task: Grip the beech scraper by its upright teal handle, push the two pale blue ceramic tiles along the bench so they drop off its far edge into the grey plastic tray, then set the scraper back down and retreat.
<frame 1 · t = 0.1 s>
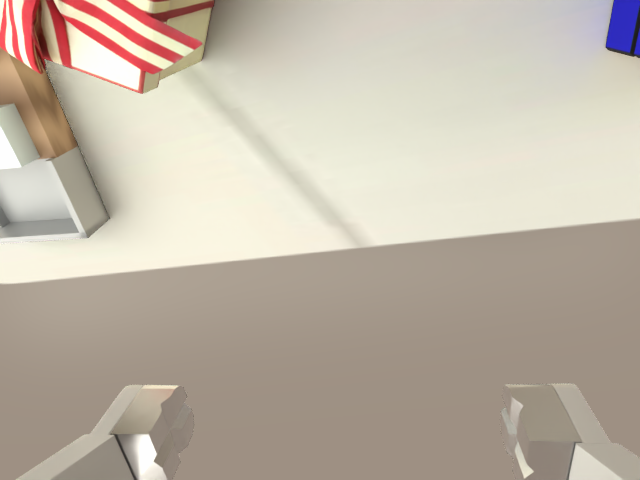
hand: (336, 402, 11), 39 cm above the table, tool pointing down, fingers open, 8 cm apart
tray: (42, 188, 54), on the table
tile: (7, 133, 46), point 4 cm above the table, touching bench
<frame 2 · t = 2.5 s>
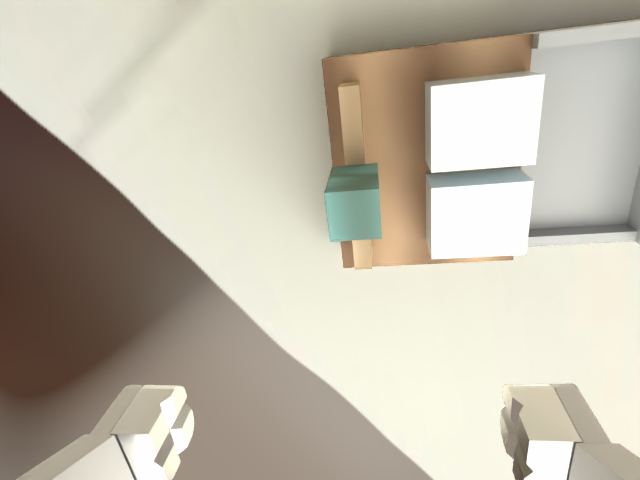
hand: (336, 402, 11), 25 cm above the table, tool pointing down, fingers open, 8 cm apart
tray: (576, 139, 30), on the table
bench: (418, 153, 32), on the table
scraper: (358, 172, 29), point 4 cm above the table, touching bench
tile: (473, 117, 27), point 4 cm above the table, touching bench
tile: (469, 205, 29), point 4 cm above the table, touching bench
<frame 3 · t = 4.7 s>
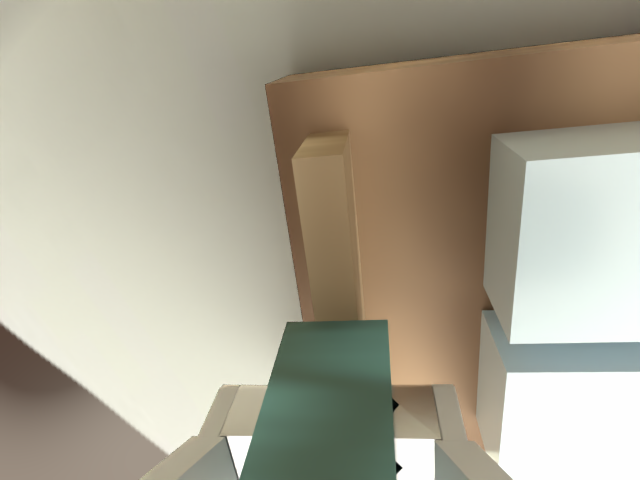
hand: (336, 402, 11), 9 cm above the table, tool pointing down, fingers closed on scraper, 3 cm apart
bench: (459, 246, 18), on the table
scraper: (346, 302, 15), point 4 cm above the table, touching bench, gripper
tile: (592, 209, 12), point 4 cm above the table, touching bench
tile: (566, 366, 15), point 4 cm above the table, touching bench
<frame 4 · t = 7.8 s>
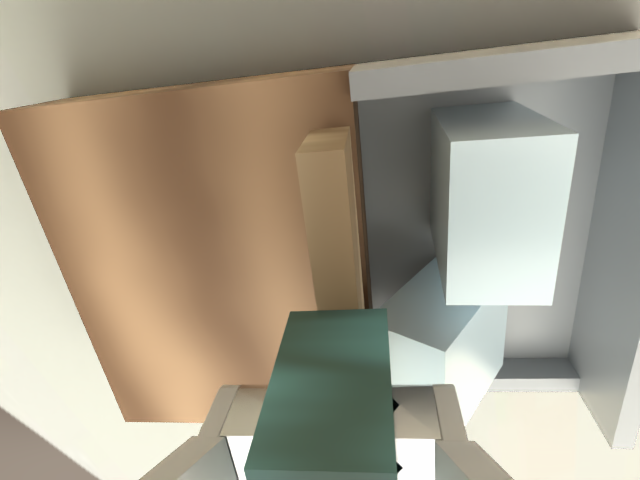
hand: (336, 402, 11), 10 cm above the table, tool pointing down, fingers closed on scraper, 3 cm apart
tray: (480, 231, 19), on the table
bench: (239, 245, 20), on the table
scraper: (347, 294, 15), point 5 cm above the table, touching gripper
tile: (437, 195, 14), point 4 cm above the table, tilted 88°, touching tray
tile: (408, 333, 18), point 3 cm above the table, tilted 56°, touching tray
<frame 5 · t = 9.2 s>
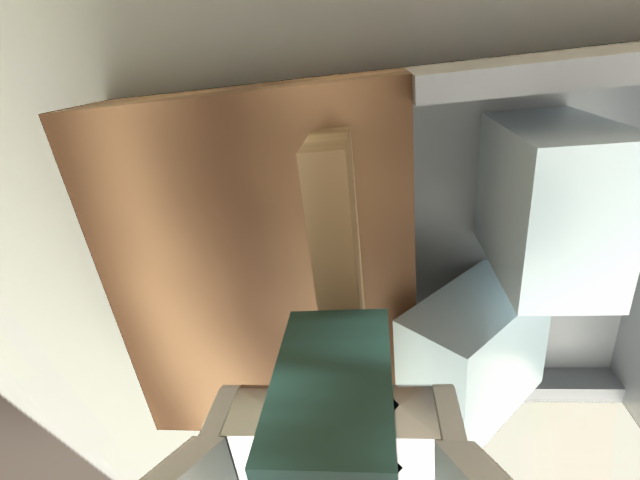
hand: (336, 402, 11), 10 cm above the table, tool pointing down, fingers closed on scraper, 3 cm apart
tray: (524, 238, 18), on the table
bench: (275, 250, 20), on the table
scraper: (347, 294, 15), point 4 cm above the table, touching gripper
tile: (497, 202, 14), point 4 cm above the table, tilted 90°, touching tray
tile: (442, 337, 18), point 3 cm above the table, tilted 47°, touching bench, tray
when the fingers open (9 cm above the table, at t = 10.4 s): scraper stays where it is, resting on bench.
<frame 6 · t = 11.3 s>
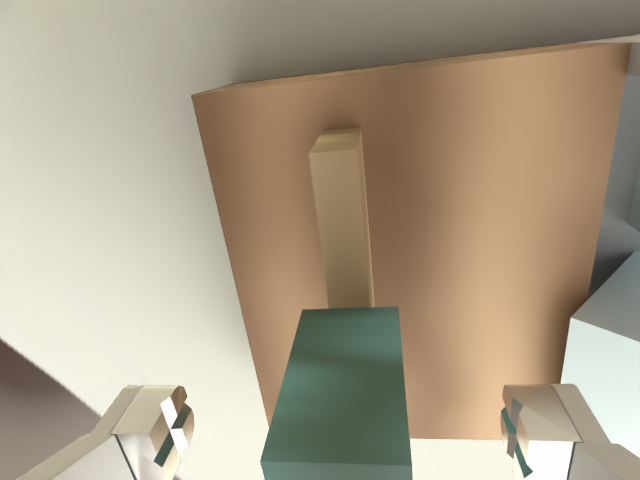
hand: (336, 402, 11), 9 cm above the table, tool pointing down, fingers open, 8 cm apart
bench: (397, 244, 19), on the table
scraper: (357, 293, 15), point 4 cm above the table, touching bench
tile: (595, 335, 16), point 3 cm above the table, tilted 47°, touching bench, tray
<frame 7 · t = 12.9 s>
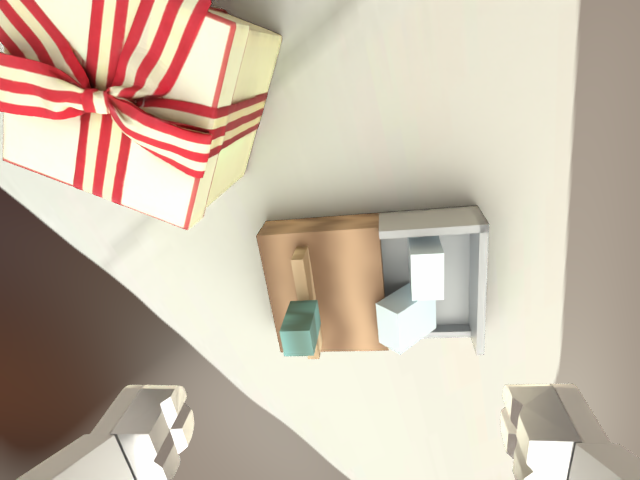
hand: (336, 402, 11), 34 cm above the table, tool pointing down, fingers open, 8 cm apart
gift box: (191, 67, 41), on the table
tray: (429, 272, 46), on the table
bench: (329, 277, 48), on the table
scraper: (310, 296, 45), point 4 cm above the table, touching bench
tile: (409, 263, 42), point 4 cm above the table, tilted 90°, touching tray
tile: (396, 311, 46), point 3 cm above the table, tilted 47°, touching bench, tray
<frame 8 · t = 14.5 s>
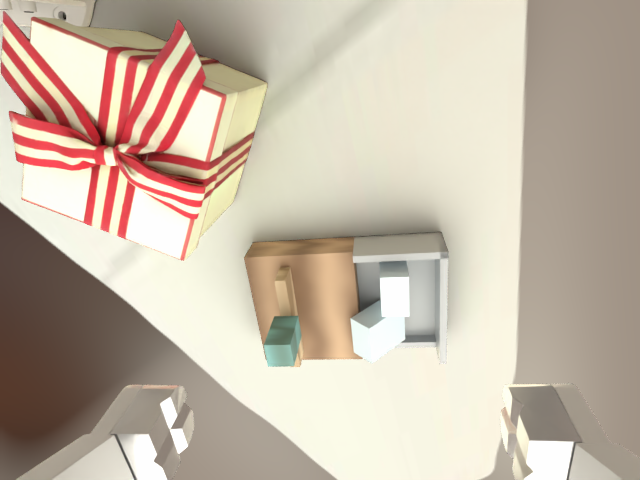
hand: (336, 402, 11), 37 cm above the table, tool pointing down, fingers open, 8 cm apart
gift box: (186, 107, 45), on the table
tray: (399, 289, 52), on the table
bench: (310, 292, 53), on the table
scraper: (292, 310, 50), point 4 cm above the table, touching bench
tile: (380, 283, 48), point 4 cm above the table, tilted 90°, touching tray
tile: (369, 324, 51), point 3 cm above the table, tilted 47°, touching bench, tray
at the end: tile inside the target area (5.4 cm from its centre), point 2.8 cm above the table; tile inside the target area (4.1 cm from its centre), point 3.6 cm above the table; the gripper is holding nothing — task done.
